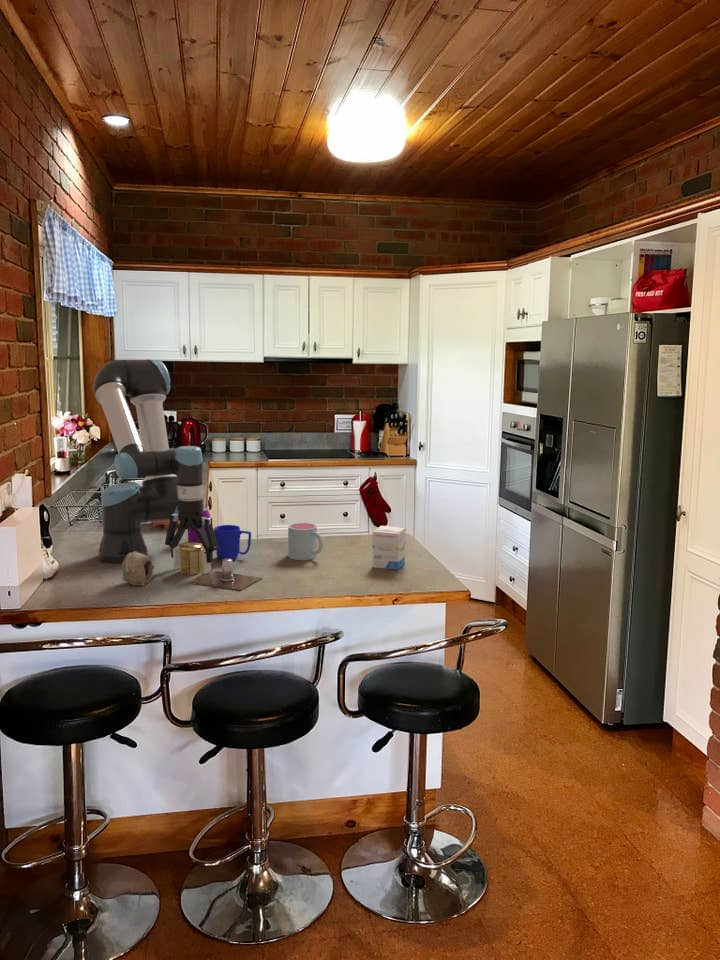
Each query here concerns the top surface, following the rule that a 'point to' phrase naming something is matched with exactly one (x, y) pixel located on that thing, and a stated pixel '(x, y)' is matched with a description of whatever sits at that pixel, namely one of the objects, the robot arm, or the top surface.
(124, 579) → the beige round pot
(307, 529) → the mug
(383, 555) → the ink box
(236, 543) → the mug
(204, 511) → the beverage can
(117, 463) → the robot arm
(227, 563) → the square plate with knob
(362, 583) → the top surface
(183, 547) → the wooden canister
